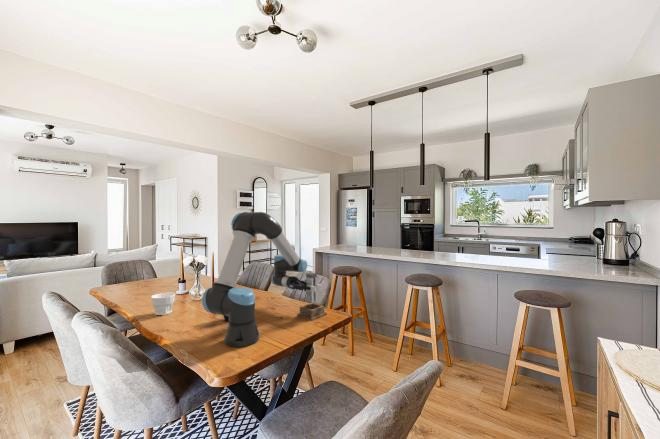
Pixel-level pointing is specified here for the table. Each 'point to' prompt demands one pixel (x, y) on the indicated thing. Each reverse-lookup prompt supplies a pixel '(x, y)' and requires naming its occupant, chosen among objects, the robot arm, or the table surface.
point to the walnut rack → (311, 311)
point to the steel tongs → (311, 280)
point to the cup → (163, 303)
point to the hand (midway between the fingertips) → (318, 288)
